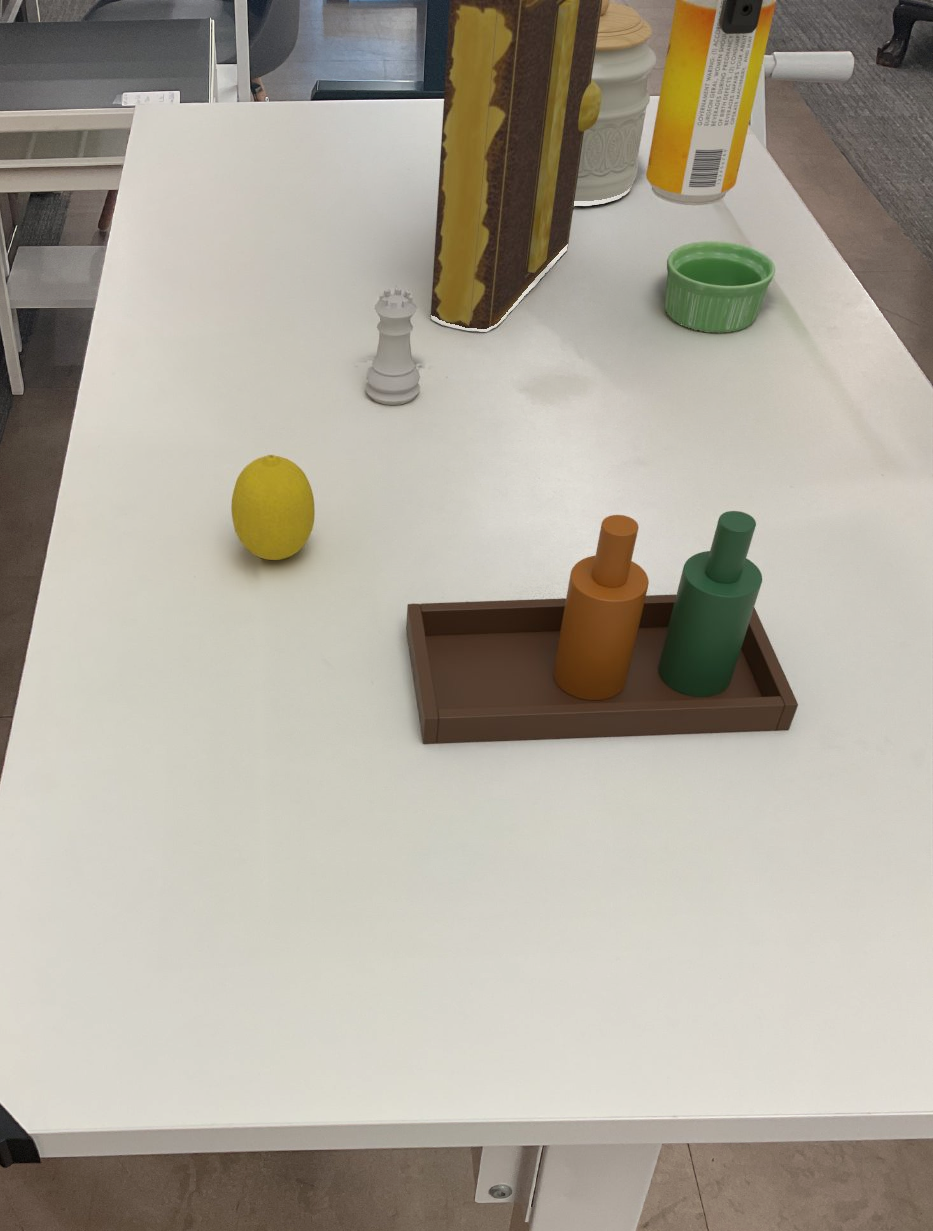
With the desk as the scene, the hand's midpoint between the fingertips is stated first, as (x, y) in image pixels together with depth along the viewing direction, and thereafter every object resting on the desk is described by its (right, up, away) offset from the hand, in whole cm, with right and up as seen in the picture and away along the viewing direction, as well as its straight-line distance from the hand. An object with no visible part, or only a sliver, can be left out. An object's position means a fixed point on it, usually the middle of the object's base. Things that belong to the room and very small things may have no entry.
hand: (722, 14), depth 79 cm
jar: (+1, +15, +50) cm, 52 cm away
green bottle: (-3, -42, -2) cm, 42 cm away
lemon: (-29, -33, +7) cm, 44 cm away
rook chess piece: (-20, -16, +22) cm, 34 cm away
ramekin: (+9, -6, +31) cm, 33 cm away
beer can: (0, -7, +8) cm, 11 cm away
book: (-8, -1, +36) cm, 37 cm away
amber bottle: (-9, -42, -2) cm, 43 cm away
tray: (-9, -43, -2) cm, 44 cm away
